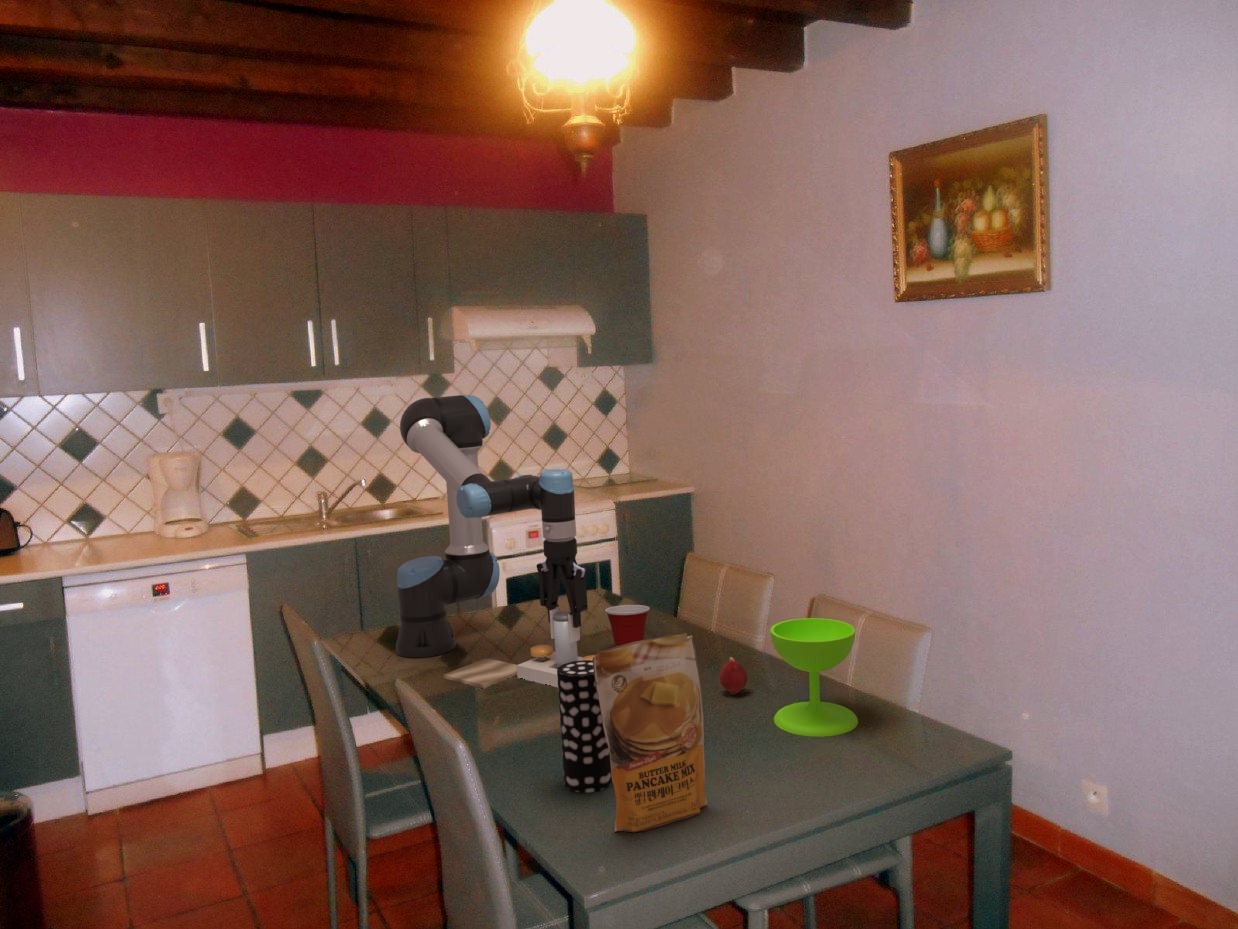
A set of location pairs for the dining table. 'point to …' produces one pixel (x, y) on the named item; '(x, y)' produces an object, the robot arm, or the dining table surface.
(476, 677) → the board
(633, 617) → the plastic cup
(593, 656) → the plunger right
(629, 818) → the pancake mix bag
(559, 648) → the cylinder
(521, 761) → the dining table surface
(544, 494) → the robot arm
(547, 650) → the plunger left
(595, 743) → the white-spotted black cylinder
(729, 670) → the onion
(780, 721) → the wineglass
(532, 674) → the block
